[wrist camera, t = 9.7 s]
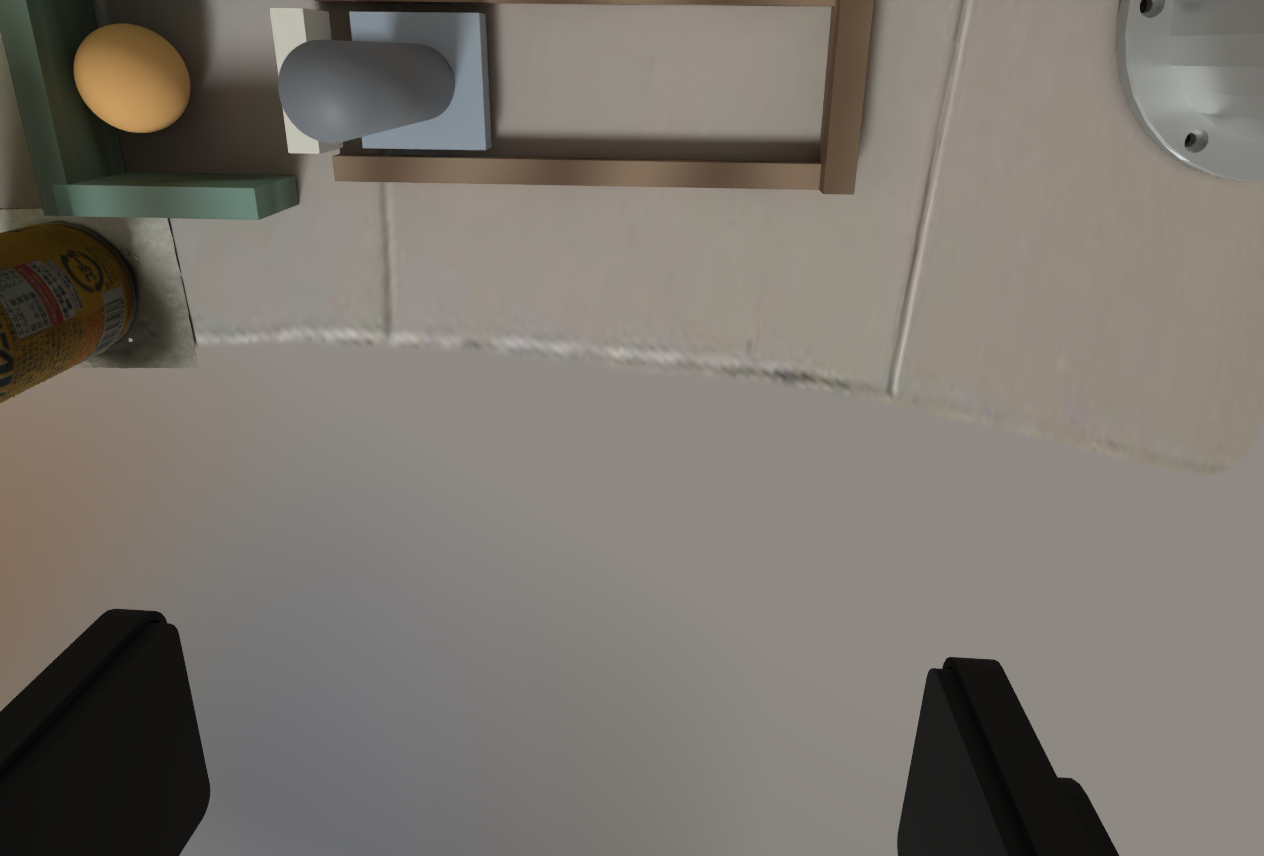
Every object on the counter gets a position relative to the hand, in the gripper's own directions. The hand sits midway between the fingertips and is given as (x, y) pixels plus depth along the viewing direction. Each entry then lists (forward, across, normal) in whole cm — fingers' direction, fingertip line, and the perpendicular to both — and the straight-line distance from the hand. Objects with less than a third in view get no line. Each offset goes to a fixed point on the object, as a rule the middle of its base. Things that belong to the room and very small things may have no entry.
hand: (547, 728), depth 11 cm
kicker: (+29, +10, -6) cm, 32 cm away
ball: (+28, +20, -6) cm, 35 cm away
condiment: (+30, +25, +3) cm, 39 cm away
